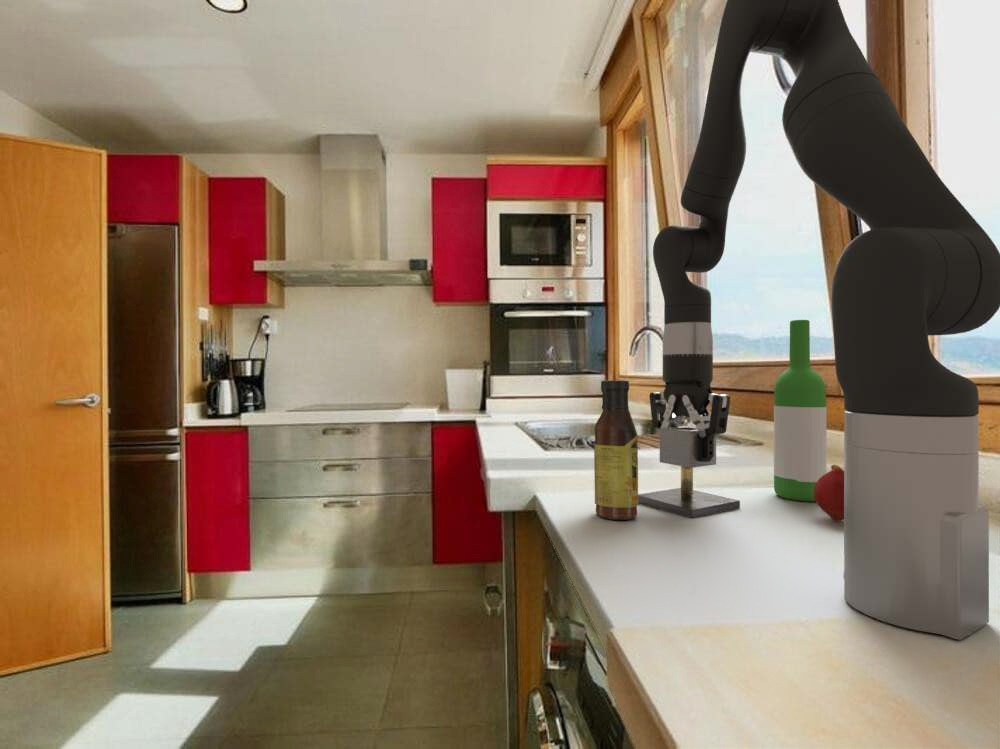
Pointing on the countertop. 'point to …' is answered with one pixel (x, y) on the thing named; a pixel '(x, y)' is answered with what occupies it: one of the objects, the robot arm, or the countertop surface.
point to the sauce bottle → (616, 455)
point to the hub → (688, 499)
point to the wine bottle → (799, 421)
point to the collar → (682, 447)
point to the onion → (831, 493)
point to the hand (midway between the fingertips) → (687, 458)
